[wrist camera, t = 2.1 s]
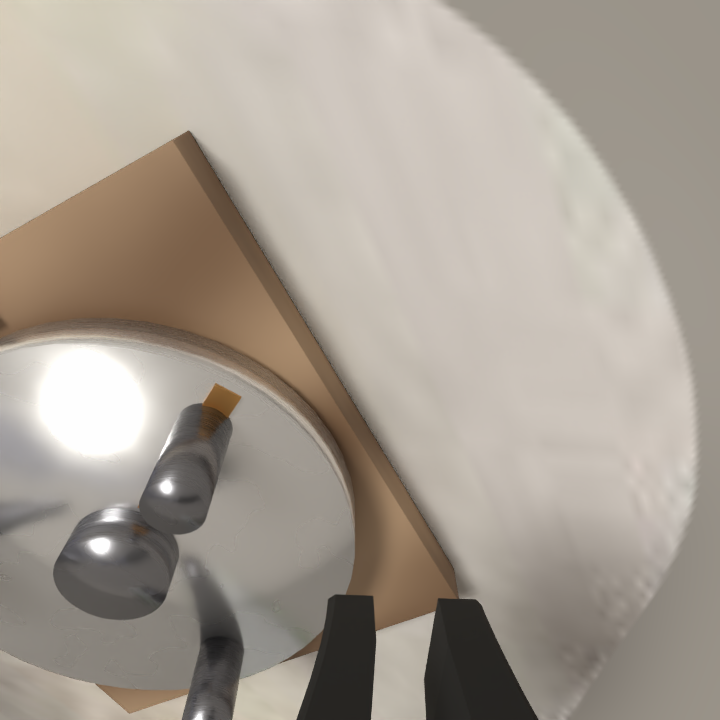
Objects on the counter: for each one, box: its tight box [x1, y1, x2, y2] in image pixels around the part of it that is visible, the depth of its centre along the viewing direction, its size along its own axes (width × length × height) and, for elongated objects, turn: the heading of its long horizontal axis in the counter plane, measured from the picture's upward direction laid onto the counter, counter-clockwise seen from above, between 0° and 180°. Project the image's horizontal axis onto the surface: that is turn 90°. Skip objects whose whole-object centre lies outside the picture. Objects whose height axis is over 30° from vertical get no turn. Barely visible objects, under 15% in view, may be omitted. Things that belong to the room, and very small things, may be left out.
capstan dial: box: [0, 318, 355, 720], centre depth 17 cm, size 13×13×4 cm
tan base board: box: [0, 131, 459, 714], centre depth 19 cm, size 17×14×2 cm
